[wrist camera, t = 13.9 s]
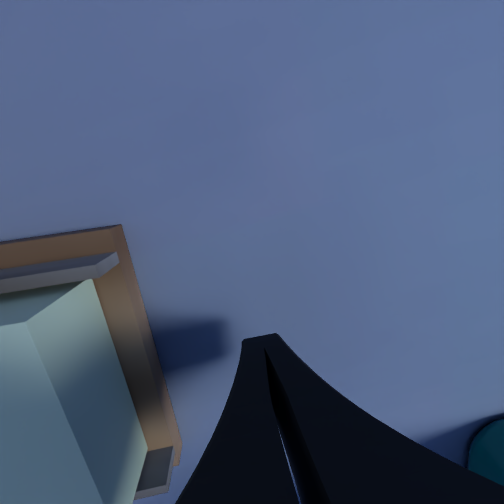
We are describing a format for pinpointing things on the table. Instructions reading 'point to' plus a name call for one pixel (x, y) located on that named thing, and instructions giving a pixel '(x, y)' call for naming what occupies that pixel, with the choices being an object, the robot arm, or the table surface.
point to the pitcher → (488, 452)
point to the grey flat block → (64, 402)
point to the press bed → (119, 324)
